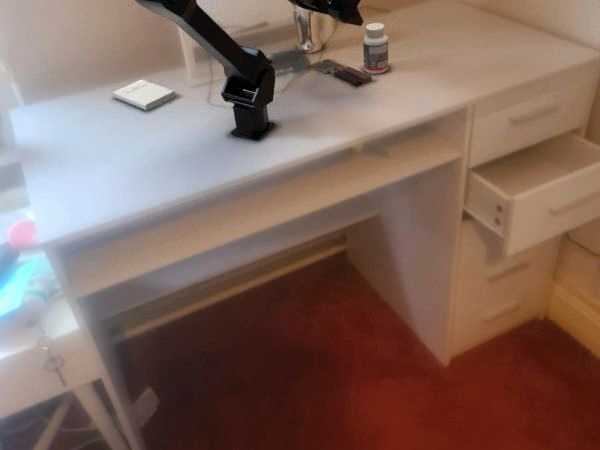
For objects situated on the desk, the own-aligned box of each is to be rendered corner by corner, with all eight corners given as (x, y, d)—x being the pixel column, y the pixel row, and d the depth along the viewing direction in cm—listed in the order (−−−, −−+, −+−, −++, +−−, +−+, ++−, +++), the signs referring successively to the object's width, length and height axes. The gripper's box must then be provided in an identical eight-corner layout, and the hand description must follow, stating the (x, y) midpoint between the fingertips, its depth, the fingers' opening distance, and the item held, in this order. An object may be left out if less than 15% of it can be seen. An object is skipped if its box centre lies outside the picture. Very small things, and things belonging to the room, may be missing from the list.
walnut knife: (372, 80, 130) (372, 76, 129) (365, 83, 129) (364, 79, 128) (327, 60, 141) (327, 56, 140) (320, 62, 140) (320, 58, 140)
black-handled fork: (364, 83, 129) (364, 80, 128) (354, 87, 128) (354, 83, 127) (320, 63, 140) (320, 59, 139) (311, 66, 139) (310, 63, 138)
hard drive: (146, 112, 128) (114, 98, 136) (176, 97, 133) (143, 84, 140) (144, 105, 127) (112, 91, 135) (175, 90, 132) (142, 78, 139)
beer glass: (321, 53, 144) (316, -11, 135) (293, 54, 146) (286, -10, 137) (326, 42, 150) (321, -20, 141) (298, 43, 151) (292, -19, 142)
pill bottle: (363, 65, 137) (362, 22, 131) (387, 63, 136) (387, 20, 130) (364, 75, 132) (363, 31, 126) (389, 73, 132) (388, 29, 126)
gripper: (352, -58, 105) (399, -8, 116) (292, -71, 117) (340, -25, 129) (319, 0, 106) (369, 43, 117) (263, -19, 119) (313, 21, 130)
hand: (347, 18), depth 123 cm, fingers open, 9 cm apart
